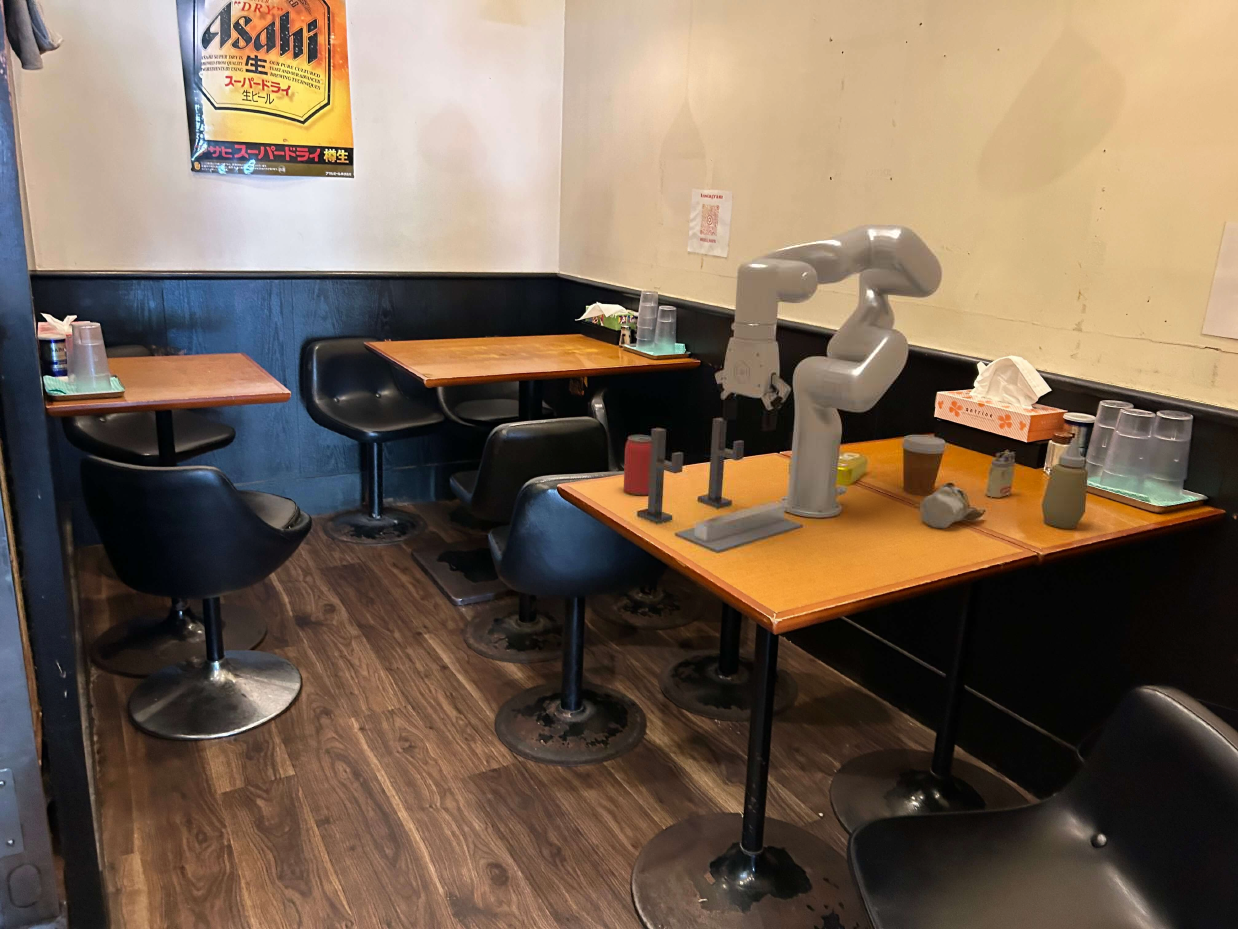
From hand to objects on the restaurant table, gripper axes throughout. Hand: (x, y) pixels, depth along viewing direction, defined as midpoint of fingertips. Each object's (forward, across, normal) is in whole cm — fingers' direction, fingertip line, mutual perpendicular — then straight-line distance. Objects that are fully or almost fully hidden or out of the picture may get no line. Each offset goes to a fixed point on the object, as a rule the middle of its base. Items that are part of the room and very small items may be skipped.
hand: (748, 424), depth 164 cm
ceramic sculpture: (+22, +21, +38) cm, 49 cm away
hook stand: (+21, -13, -1) cm, 25 cm away
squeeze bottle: (+22, +36, +56) cm, 70 cm away
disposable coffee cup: (+22, +6, +53) cm, 57 cm away
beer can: (+21, -30, 0) cm, 36 cm away
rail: (+20, 0, -1) cm, 20 cm away
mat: (+21, 0, -1) cm, 21 cm away
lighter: (+22, +18, +66) cm, 72 cm away
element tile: (+22, -15, +47) cm, 54 cm away
